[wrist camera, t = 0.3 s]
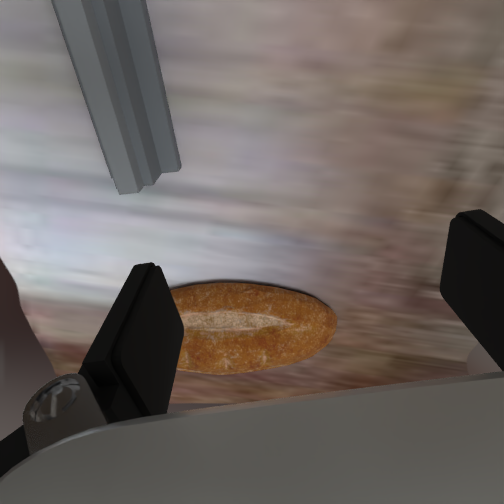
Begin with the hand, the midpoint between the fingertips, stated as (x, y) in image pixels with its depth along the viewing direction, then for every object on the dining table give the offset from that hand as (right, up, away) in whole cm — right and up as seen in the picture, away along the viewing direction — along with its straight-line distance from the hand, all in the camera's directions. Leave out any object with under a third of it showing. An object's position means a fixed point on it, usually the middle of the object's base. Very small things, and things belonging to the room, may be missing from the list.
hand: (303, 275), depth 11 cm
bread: (-6, -10, +42) cm, 44 cm away
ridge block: (-15, +19, +23) cm, 34 cm away
